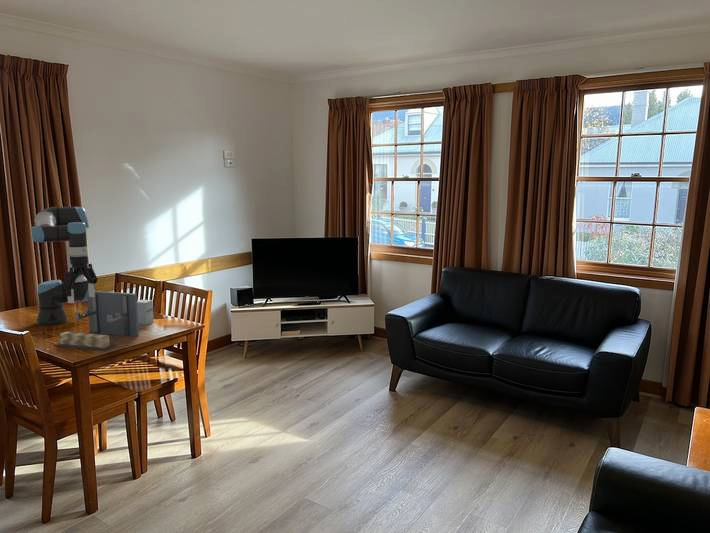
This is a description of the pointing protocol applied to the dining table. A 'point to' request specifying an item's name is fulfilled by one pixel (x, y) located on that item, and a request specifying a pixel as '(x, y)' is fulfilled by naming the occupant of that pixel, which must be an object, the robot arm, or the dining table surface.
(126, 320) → the hook standards
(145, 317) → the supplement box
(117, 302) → the wall board
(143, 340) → the dining table surface
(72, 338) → the birch rail
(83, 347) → the rubber mat
